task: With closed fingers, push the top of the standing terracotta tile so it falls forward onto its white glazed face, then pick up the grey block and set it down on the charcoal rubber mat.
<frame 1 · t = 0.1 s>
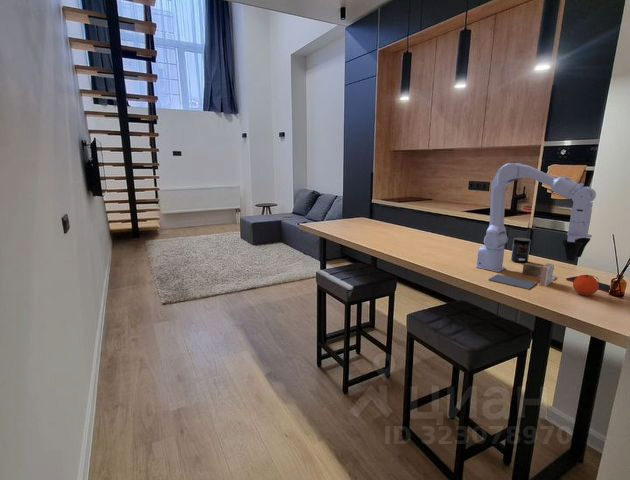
hand: (573, 258, 127), 10 cm above the bar counter, fingers open, 7 cm apart
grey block: (531, 274, 141), on the bar counter
mat: (512, 282, 133), on the bar counter
tile: (545, 283, 131), on the bar counter
clementine: (585, 295, 120), on the bar counter
supplement container: (519, 261, 160), on the bar counter
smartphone: (591, 286, 130), on the bar counter
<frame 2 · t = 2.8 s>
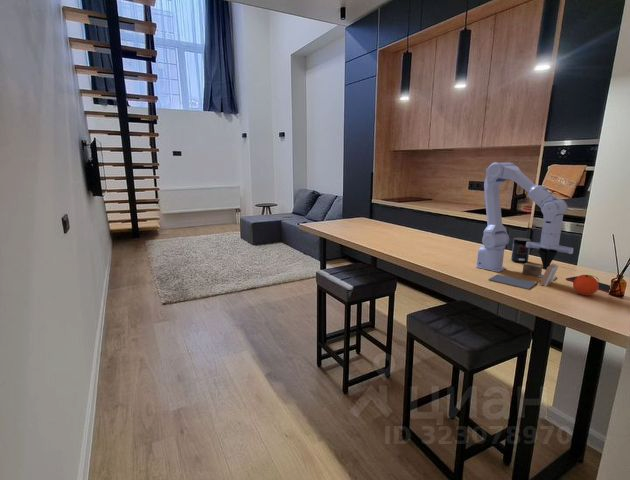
hand: (545, 269, 130), 5 cm above the bar counter, fingers closed
tile: (545, 282, 131), on the bar counter, tilted 13°
everything else where it was.
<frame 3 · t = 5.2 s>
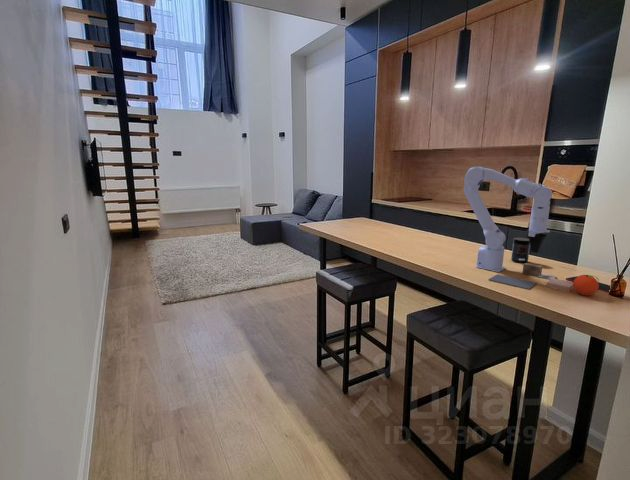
hand: (534, 251, 139), 9 cm above the bar counter, fingers closed
tile: (548, 282, 130), on the bar counter, tilted 90°
everything else where it was.
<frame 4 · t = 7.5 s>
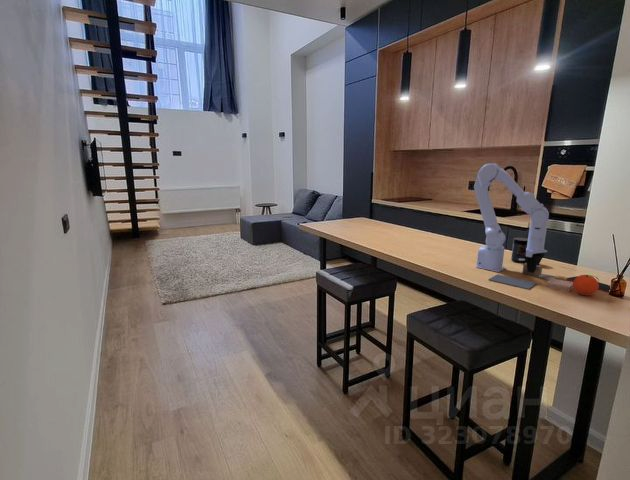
hand: (532, 271, 141), 1 cm above the bar counter, fingers closed on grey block, 3 cm apart
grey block: (531, 274, 141), on the bar counter, touching gripper
everything else where it was.
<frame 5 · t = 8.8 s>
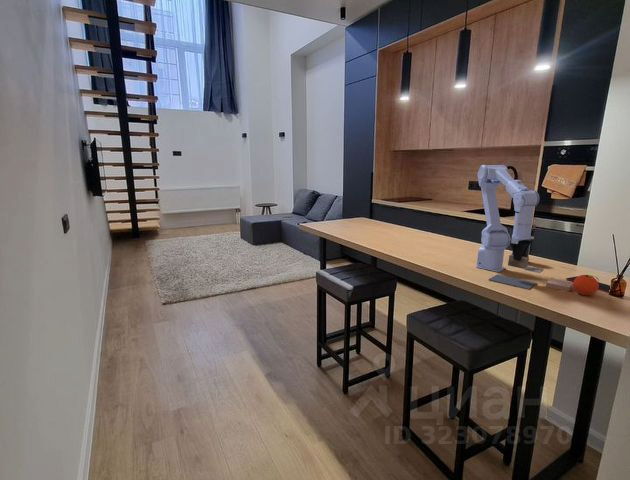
hand: (518, 259, 132), 8 cm above the bar counter, fingers closed on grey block, 3 cm apart
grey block: (517, 266, 133), point 6 cm above the bar counter, touching gripper
everything else where it was.
when the fingers open (3 cm above the bar counter, at t = 10.4 s): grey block stays where it is, resting on mat.
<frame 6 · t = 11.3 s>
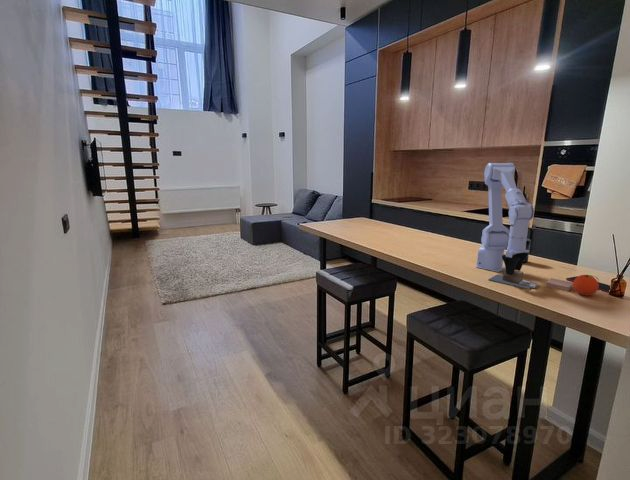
hand: (513, 272, 132), 4 cm above the bar counter, fingers open, 7 cm apart
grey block: (512, 281, 133), resting on mat
everything else where it was.
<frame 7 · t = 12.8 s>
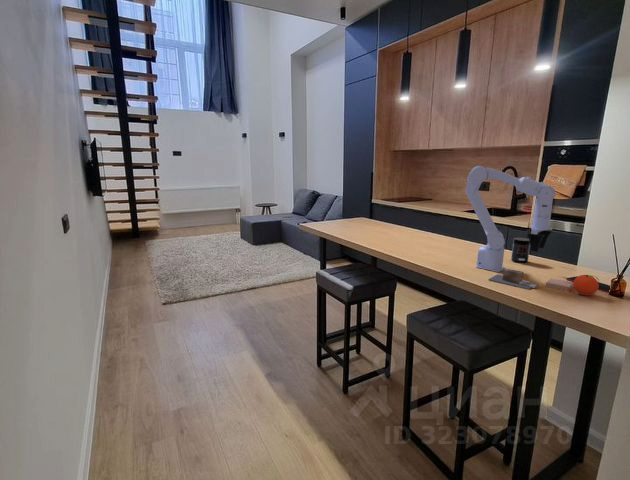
hand: (537, 249, 141), 10 cm above the bar counter, fingers open, 7 cm apart
nothing on the bar counter moved.
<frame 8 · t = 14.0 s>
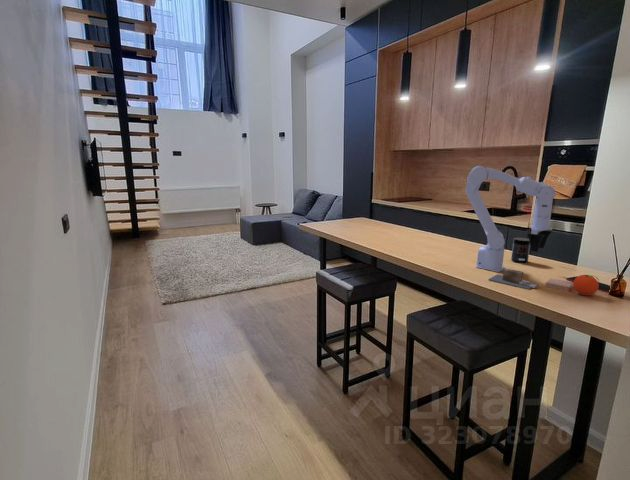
hand: (537, 249, 141), 10 cm above the bar counter, fingers open, 7 cm apart
nothing on the bar counter moved.
at the end: tile tilted 90°; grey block inside the target area on the mat (0.0 cm from its centre), point 0.4 cm above the mat's base; the gripper is holding nothing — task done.
